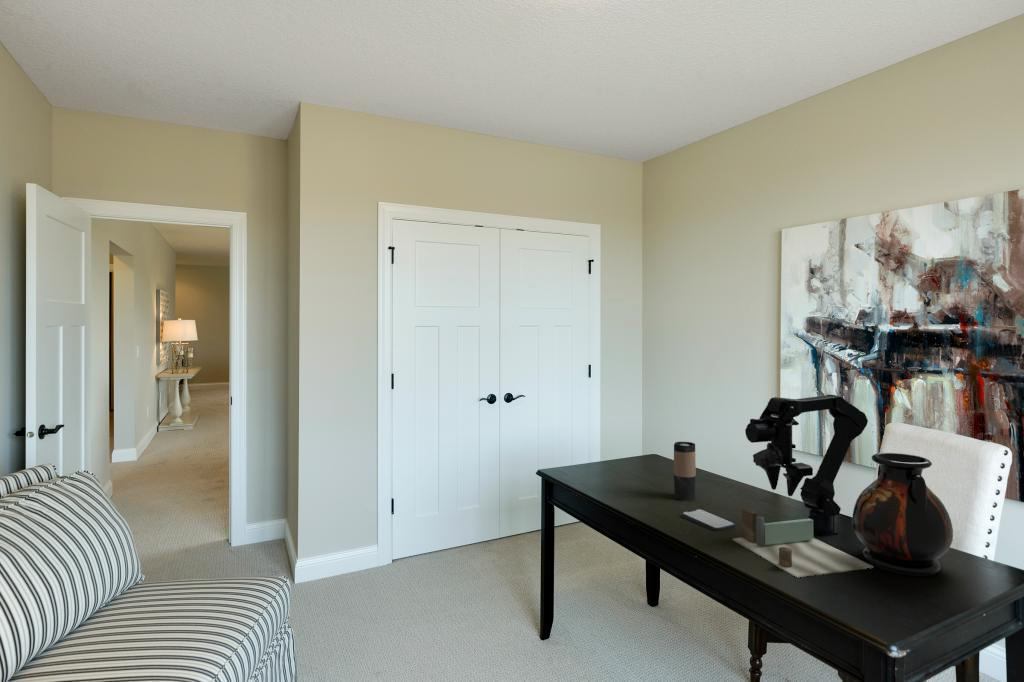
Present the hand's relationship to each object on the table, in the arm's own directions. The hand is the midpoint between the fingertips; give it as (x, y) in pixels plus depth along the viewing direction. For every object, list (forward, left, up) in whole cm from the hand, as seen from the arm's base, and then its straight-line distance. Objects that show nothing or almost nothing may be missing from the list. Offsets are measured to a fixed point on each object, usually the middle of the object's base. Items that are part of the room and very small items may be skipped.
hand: (781, 492), depth 167 cm
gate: (+4, +6, -12) cm, 14 cm away
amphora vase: (-16, +25, -13) cm, 32 cm away
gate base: (+4, +12, -13) cm, 18 cm away
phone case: (+14, -17, -14) cm, 26 cm away
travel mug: (+8, -41, -13) cm, 44 cm away
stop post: (+14, +18, -13) cm, 27 cm away
